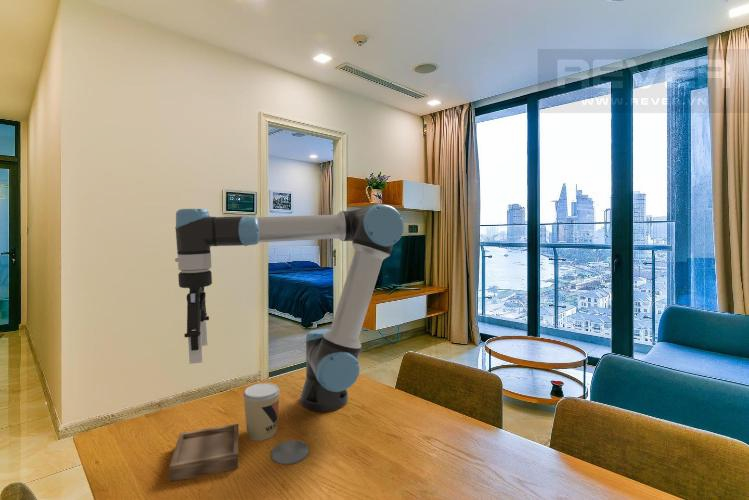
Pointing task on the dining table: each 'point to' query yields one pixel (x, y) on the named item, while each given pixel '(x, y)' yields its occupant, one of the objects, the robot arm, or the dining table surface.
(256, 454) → the dining table surface
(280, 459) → the slate coaster
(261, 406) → the coffee cup
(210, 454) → the square wooden tray
